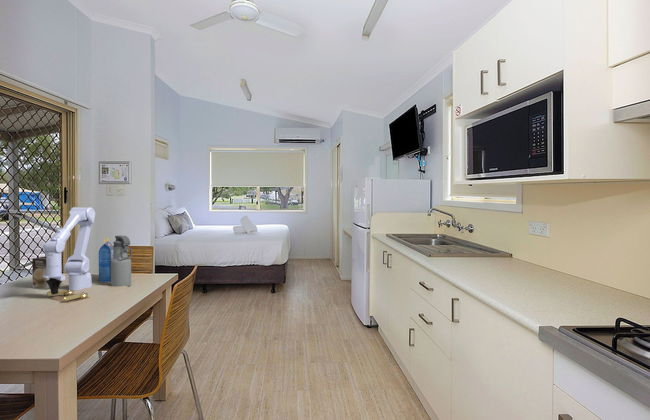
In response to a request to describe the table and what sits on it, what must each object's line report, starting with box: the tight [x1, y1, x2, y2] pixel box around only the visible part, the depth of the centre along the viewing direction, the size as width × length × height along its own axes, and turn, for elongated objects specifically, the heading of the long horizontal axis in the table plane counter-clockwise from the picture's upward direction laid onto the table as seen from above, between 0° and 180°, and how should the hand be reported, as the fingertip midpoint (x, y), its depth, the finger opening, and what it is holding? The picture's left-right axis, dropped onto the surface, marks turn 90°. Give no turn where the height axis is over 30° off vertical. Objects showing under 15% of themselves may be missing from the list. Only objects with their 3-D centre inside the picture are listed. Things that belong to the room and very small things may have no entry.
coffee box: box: [31, 256, 50, 290], centre depth 187 cm, size 9×6×16 cm
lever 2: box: [62, 292, 89, 301], centre depth 163 cm, size 11×4×2 cm, turn 155°
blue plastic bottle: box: [98, 236, 114, 283], centre depth 206 cm, size 6×12×25 cm, turn 24°
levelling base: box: [47, 294, 91, 304], centre depth 165 cm, size 10×16×2 cm, turn 65°
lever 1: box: [46, 289, 75, 296], centre depth 169 cm, size 11×4×2 cm, turn 117°
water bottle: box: [110, 235, 133, 288], centre depth 191 cm, size 10×10×28 cm
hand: (54, 294), depth 166 cm, fingers closed, pressing on lever 1
